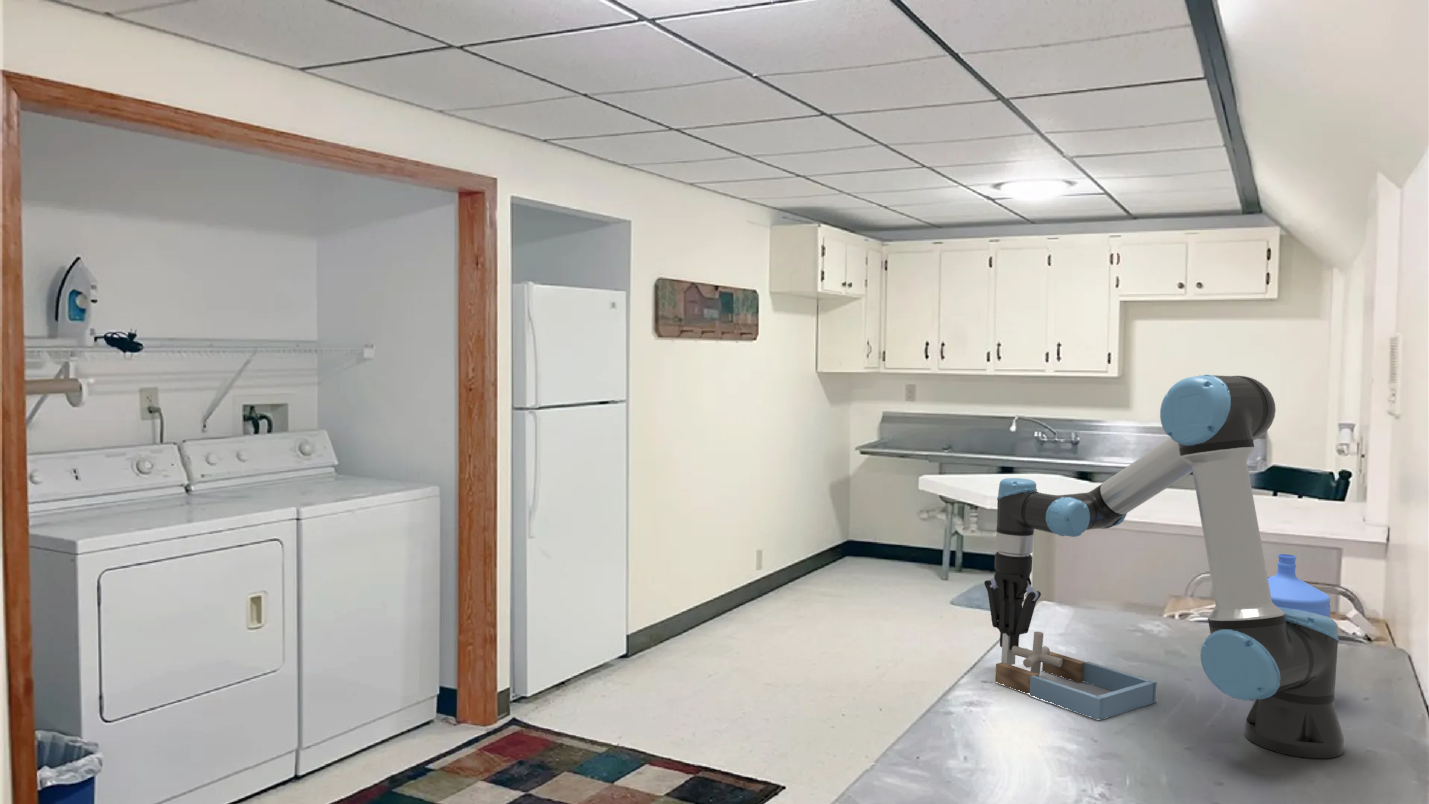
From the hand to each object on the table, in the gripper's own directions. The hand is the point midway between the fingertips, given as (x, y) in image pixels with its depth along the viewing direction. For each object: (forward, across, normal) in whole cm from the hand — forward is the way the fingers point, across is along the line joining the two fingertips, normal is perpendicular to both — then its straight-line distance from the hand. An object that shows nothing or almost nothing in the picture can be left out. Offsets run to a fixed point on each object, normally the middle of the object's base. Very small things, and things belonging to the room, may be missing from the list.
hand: (1008, 664), depth 218 cm
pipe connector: (+2, -7, 0) cm, 7 cm away
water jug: (+1, -39, -35) cm, 52 cm away
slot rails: (+2, -8, 0) cm, 8 cm away
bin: (+1, -20, 0) cm, 20 cm away
